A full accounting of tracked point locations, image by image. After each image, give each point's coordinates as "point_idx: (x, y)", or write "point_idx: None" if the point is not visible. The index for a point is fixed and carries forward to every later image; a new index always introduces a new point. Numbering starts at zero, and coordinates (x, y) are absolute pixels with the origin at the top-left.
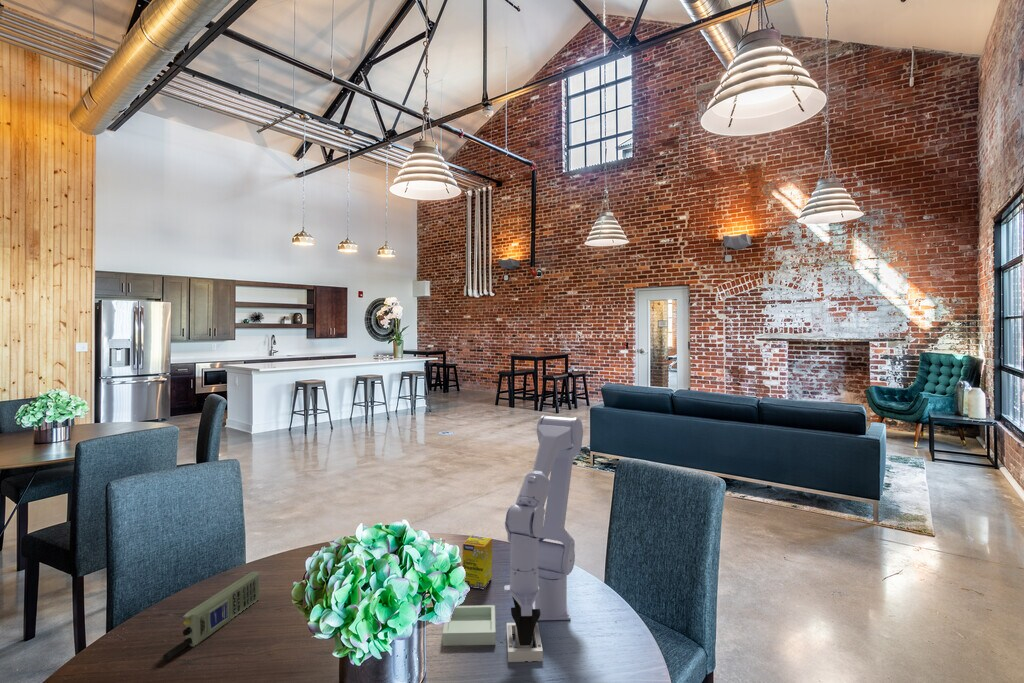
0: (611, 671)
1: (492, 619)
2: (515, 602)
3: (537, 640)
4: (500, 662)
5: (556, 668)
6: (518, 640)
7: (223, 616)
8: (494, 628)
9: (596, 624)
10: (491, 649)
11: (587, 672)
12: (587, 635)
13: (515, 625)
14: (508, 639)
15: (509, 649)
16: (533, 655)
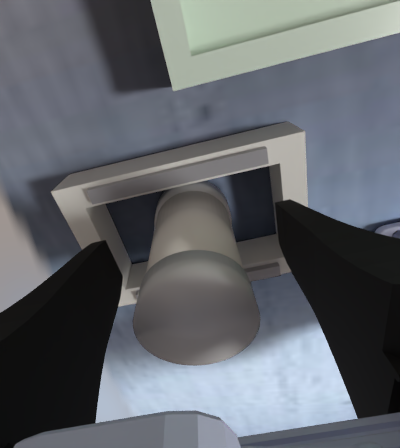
0: (138, 403)
1: (323, 30)
2: (326, 257)
3: None
4: (54, 142)
5: None
6: (159, 216)
7: None
8: (214, 74)
9: (337, 374)
10: (133, 73)
11: (115, 371)
12: (281, 362)
13: (179, 228)
14: (148, 173)
15: (68, 193)
16: None
